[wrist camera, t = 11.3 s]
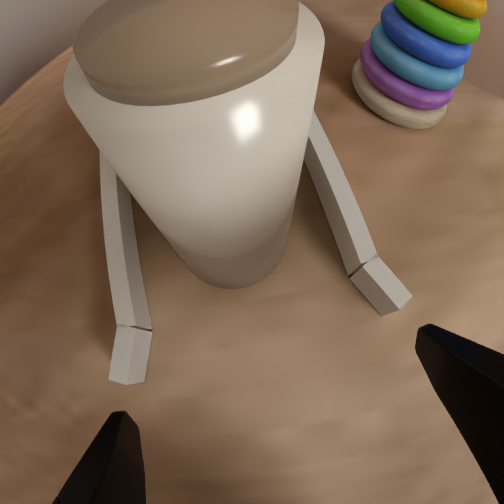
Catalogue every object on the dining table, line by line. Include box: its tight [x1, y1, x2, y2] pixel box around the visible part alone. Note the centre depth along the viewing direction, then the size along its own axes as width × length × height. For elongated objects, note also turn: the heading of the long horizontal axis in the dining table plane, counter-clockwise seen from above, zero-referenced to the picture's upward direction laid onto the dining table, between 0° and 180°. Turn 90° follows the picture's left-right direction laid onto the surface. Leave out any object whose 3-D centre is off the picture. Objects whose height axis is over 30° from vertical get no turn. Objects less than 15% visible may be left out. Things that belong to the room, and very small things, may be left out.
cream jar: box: [63, 0, 325, 289], centre depth 12 cm, size 6×6×14 cm
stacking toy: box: [352, 0, 487, 129], centre depth 13 cm, size 8×8×19 cm
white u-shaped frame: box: [100, 111, 412, 385], centre depth 17 cm, size 19×15×4 cm
